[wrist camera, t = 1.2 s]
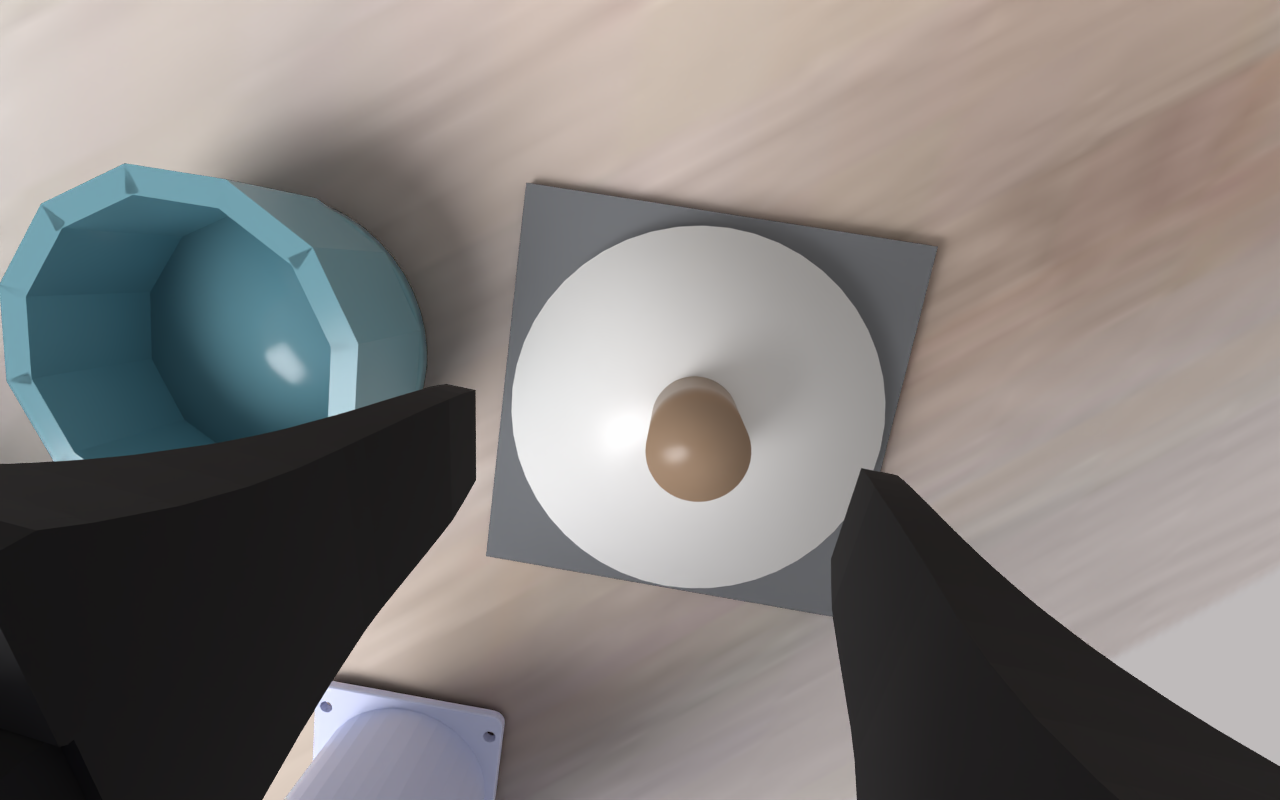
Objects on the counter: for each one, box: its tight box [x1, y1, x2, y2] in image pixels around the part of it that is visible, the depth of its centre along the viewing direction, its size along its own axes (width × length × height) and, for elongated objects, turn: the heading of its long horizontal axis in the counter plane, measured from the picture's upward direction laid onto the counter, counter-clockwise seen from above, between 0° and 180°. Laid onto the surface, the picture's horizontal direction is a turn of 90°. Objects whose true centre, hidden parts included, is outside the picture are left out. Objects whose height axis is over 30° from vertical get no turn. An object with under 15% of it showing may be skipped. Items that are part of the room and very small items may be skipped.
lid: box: [511, 226, 885, 588], centre depth 19 cm, size 13×13×5 cm
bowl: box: [0, 163, 427, 462], centre depth 20 cm, size 11×11×5 cm
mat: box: [486, 183, 938, 617], centre depth 22 cm, size 14×14×1 cm
